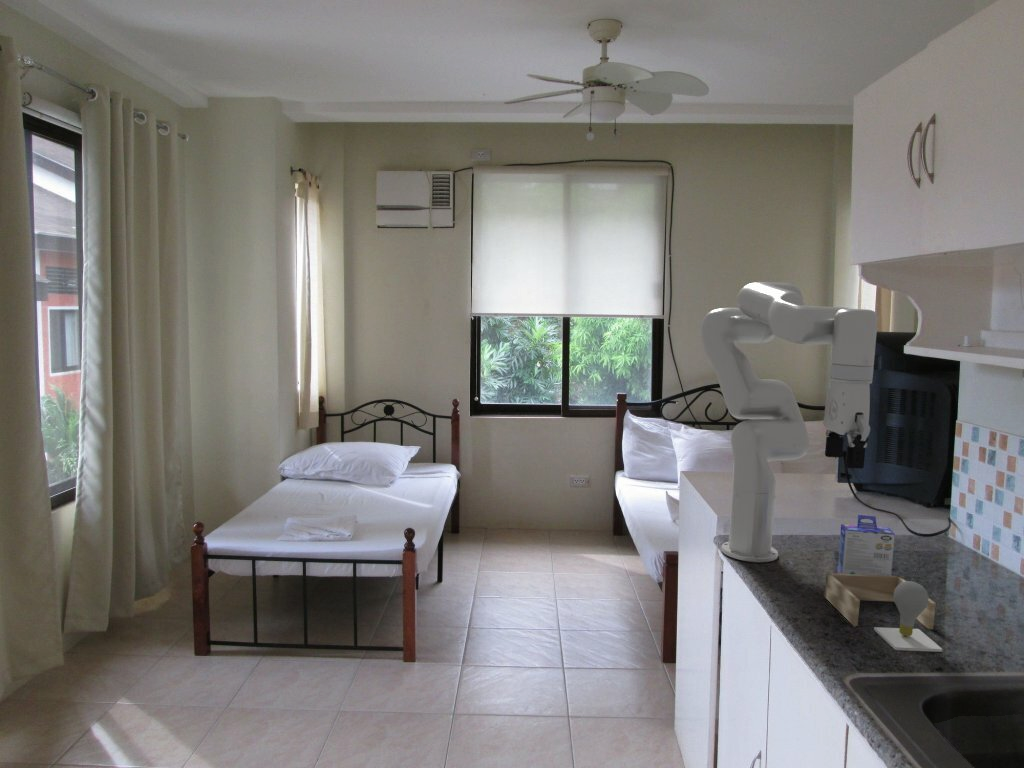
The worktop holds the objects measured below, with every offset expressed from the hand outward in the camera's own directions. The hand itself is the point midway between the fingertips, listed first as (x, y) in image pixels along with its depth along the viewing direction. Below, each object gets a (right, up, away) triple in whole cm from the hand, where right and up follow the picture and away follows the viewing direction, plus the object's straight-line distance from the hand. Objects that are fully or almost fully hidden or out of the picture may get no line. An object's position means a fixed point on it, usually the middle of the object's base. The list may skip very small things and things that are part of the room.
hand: (843, 462), depth 150 cm
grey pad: (+6, -30, -13) cm, 33 cm away
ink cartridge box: (+10, -27, +14) cm, 33 cm away
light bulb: (+6, -30, -12) cm, 33 cm away
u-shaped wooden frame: (+6, -29, -1) cm, 29 cm away
